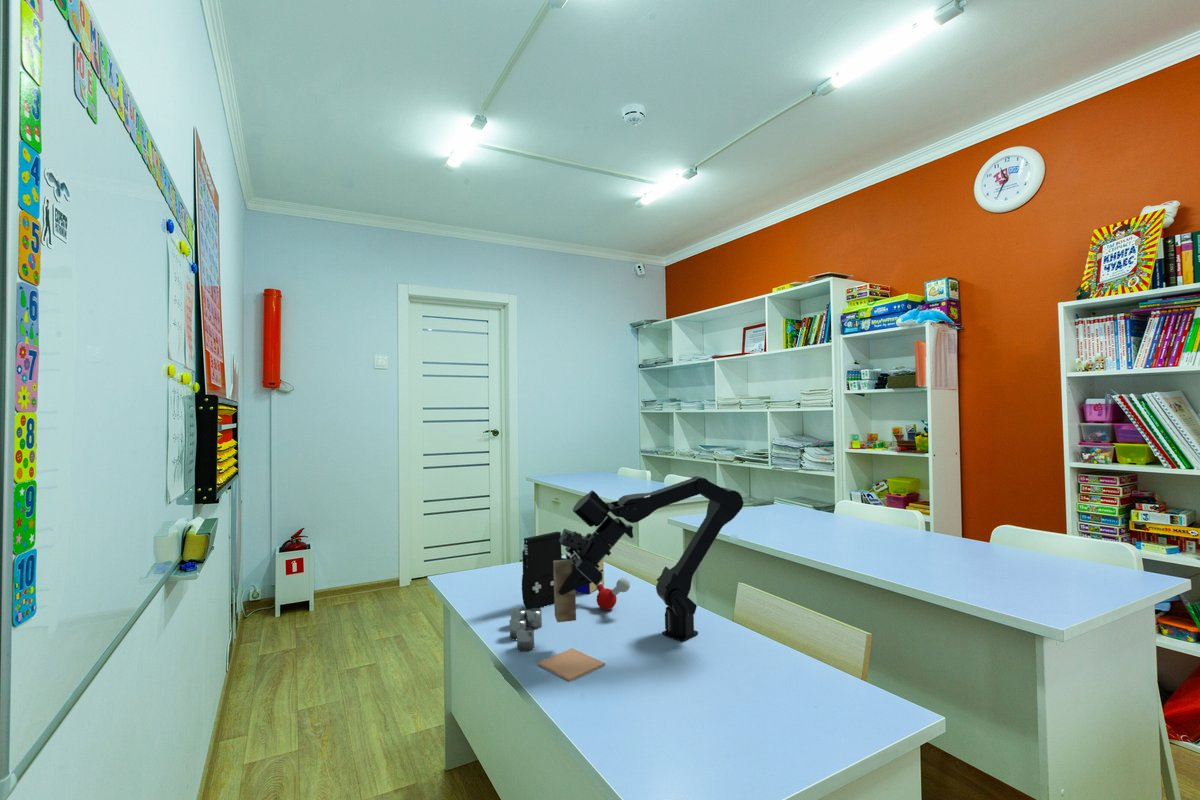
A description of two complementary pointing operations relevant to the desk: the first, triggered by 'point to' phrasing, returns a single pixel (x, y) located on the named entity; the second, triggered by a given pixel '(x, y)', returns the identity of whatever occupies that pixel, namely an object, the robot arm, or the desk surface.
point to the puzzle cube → (591, 587)
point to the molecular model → (611, 593)
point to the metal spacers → (521, 621)
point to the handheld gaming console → (539, 569)
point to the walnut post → (566, 602)
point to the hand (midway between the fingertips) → (558, 590)
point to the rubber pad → (571, 664)
